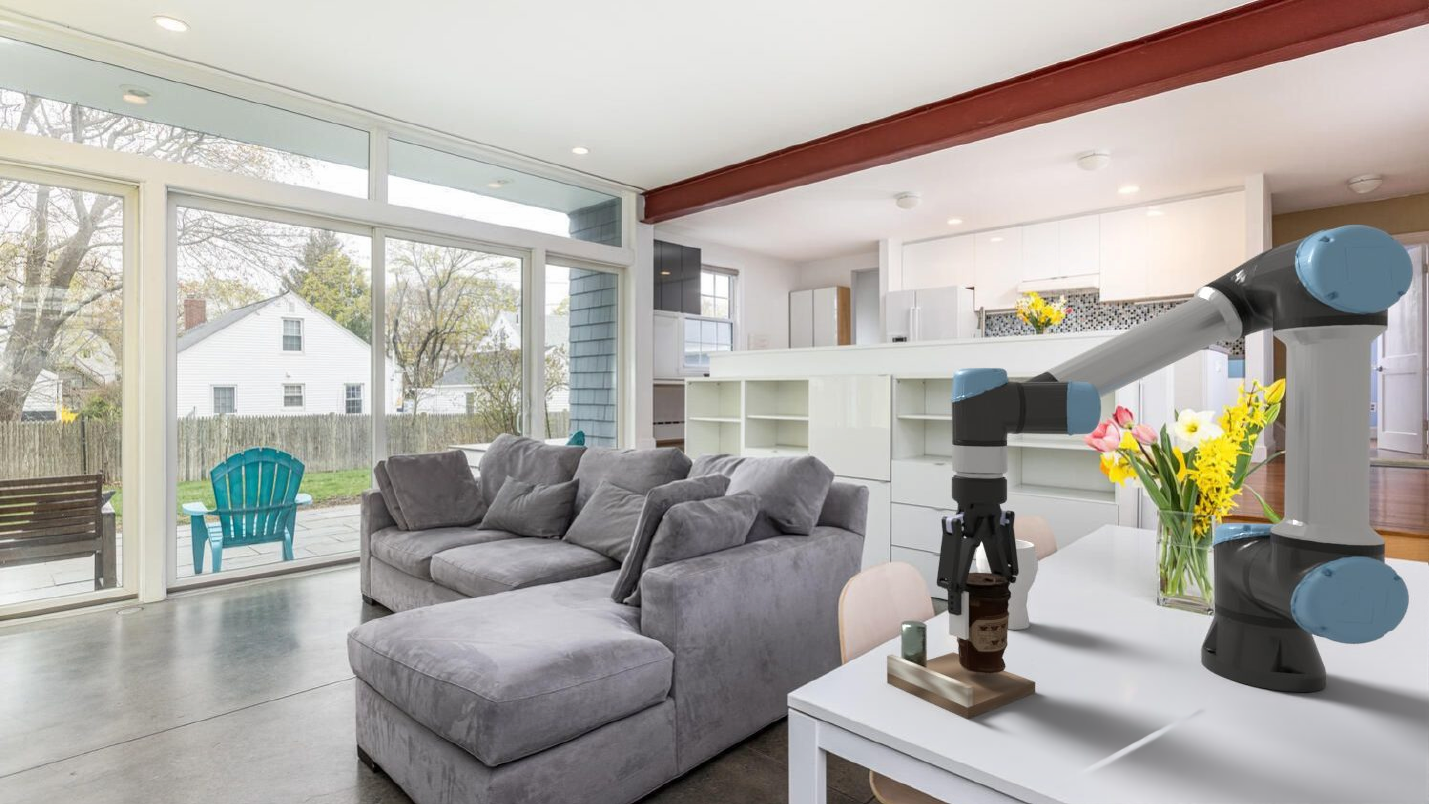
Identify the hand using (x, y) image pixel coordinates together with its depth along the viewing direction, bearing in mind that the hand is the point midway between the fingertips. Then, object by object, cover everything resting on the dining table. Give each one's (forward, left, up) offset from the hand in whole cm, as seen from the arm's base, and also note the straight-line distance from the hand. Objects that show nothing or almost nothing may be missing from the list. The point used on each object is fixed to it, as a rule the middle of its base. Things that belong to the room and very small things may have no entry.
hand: (978, 630), depth 101 cm
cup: (+15, -29, -8) cm, 34 cm away
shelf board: (+1, +2, -8) cm, 9 cm away
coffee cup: (0, 0, -5) cm, 5 cm away
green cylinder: (+6, +6, -7) cm, 11 cm away
